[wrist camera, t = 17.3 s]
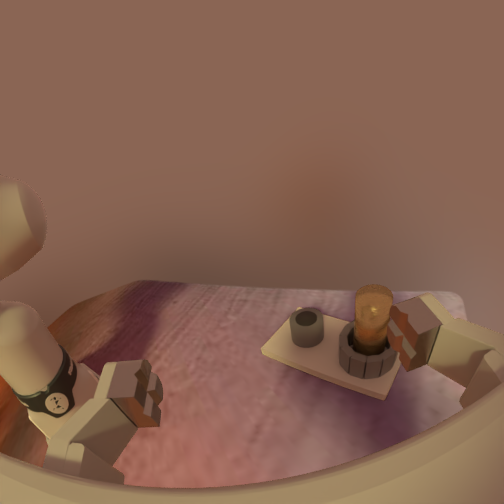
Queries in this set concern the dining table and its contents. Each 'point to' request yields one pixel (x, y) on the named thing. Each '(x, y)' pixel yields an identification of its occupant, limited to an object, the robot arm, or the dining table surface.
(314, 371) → the fitting plate
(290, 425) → the dining table surface
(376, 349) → the amber cylinder
